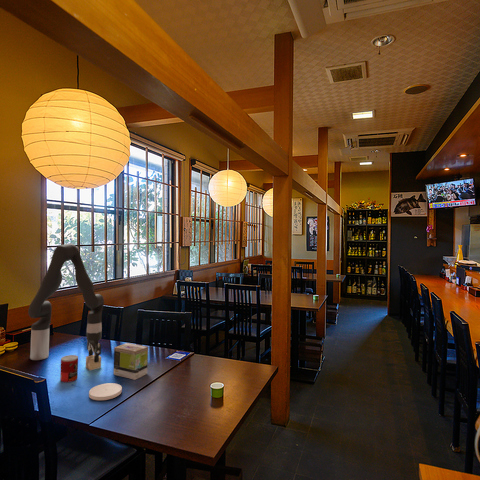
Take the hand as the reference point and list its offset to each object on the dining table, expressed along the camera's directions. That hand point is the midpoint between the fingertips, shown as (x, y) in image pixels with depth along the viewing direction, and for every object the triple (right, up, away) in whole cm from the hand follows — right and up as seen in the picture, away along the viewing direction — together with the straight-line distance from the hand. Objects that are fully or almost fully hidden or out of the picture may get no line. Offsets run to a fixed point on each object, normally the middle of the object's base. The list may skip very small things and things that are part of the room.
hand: (93, 360), depth 180 cm
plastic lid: (+19, -5, -31) cm, 37 cm away
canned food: (-5, -4, -16) cm, 17 cm away
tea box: (+23, -5, -7) cm, 25 cm away
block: (0, -4, 0) cm, 4 cm away
